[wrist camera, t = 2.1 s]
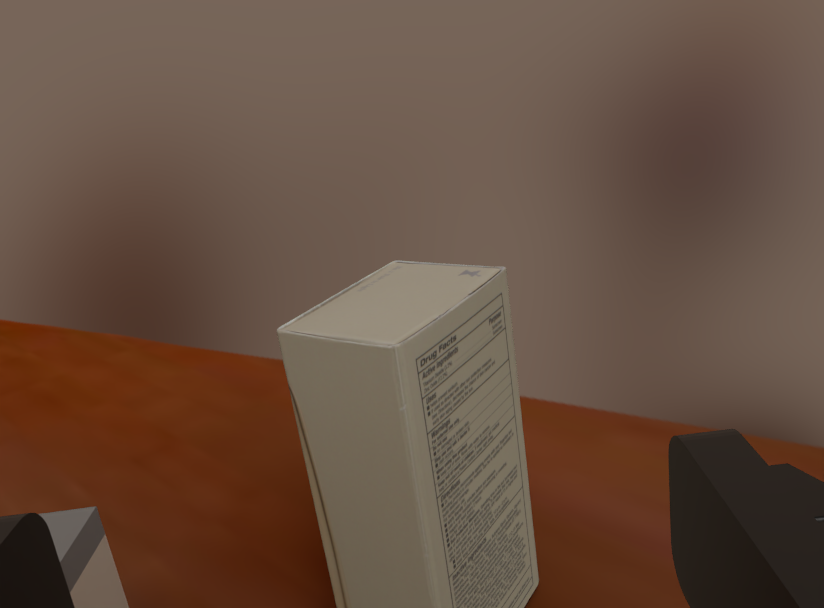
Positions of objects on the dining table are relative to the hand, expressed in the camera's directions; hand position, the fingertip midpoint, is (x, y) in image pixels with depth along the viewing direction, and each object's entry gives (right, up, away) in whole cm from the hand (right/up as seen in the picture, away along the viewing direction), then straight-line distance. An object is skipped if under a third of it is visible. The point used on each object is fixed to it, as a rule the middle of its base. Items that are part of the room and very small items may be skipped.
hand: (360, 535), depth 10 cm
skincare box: (+2, -8, +17) cm, 19 cm away
